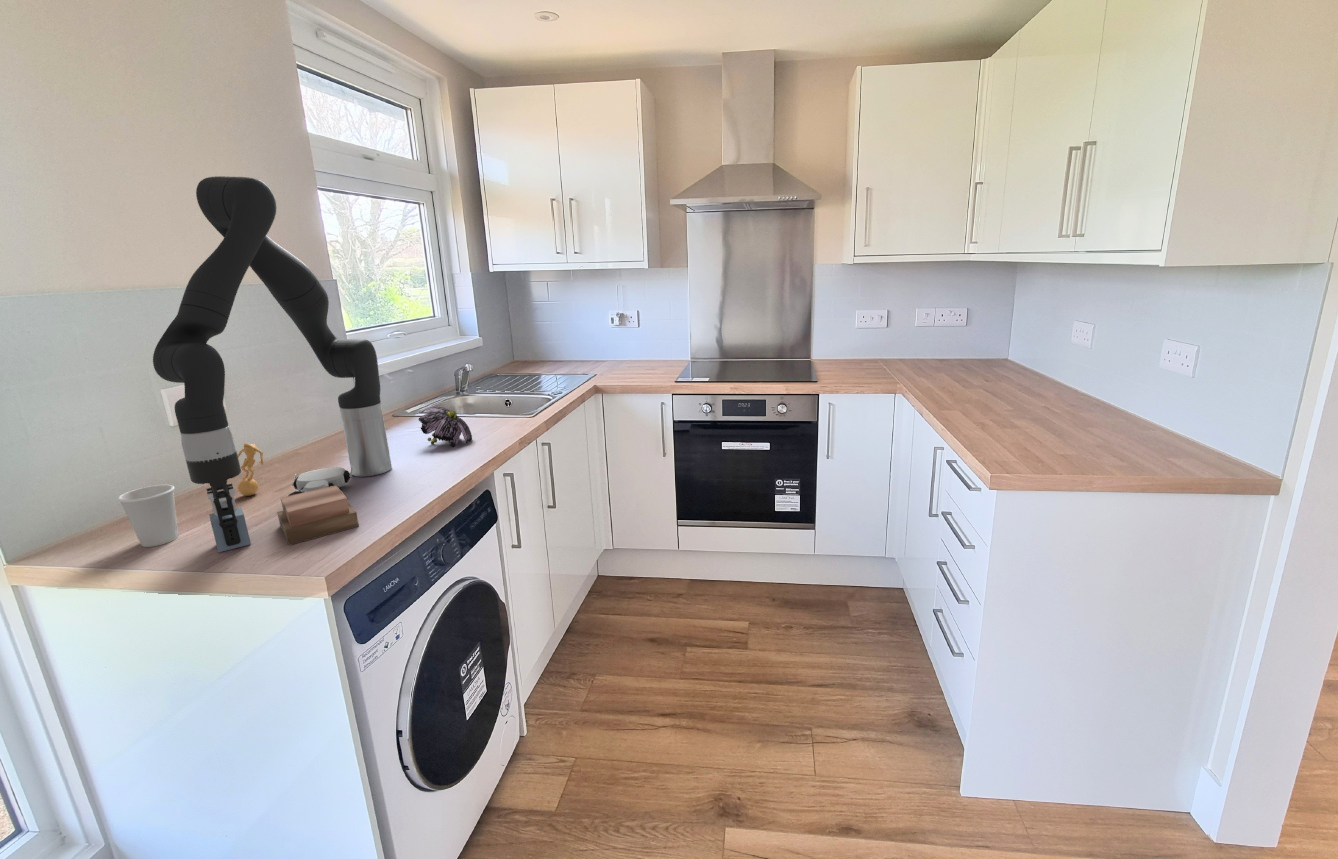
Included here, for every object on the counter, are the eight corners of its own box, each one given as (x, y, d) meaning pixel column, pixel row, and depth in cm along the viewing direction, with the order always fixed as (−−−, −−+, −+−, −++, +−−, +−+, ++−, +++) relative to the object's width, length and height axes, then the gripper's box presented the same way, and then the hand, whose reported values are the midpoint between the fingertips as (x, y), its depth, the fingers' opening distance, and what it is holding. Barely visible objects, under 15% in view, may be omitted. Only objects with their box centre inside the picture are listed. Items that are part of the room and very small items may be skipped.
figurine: (228, 497, 141) (215, 447, 137) (251, 488, 146) (240, 439, 143) (256, 499, 138) (244, 448, 135) (279, 489, 144) (268, 441, 141)
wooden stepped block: (280, 525, 123) (273, 497, 121) (345, 509, 130) (340, 482, 128) (289, 545, 114) (282, 515, 112) (358, 526, 121) (353, 498, 119)
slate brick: (216, 543, 116) (209, 514, 114) (248, 535, 118) (241, 506, 117) (218, 552, 112) (210, 522, 110) (250, 544, 115) (243, 514, 113)
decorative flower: (449, 418, 165) (412, 398, 171) (436, 458, 167) (400, 437, 173) (487, 420, 178) (451, 402, 184) (475, 457, 180) (440, 437, 186)
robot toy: (346, 505, 135) (356, 479, 148) (342, 487, 133) (352, 462, 147) (283, 515, 131) (299, 487, 145) (278, 496, 130) (294, 470, 143)
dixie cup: (124, 553, 113) (109, 503, 111) (141, 536, 121) (127, 489, 118) (179, 544, 116) (165, 494, 114) (192, 528, 124) (180, 481, 121)
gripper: (239, 457, 107) (260, 545, 112) (232, 441, 118) (252, 522, 123) (185, 467, 103) (210, 559, 107) (184, 449, 114) (206, 533, 118)
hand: (232, 539), depth 115 cm, fingers closed on slate brick, 5 cm apart
